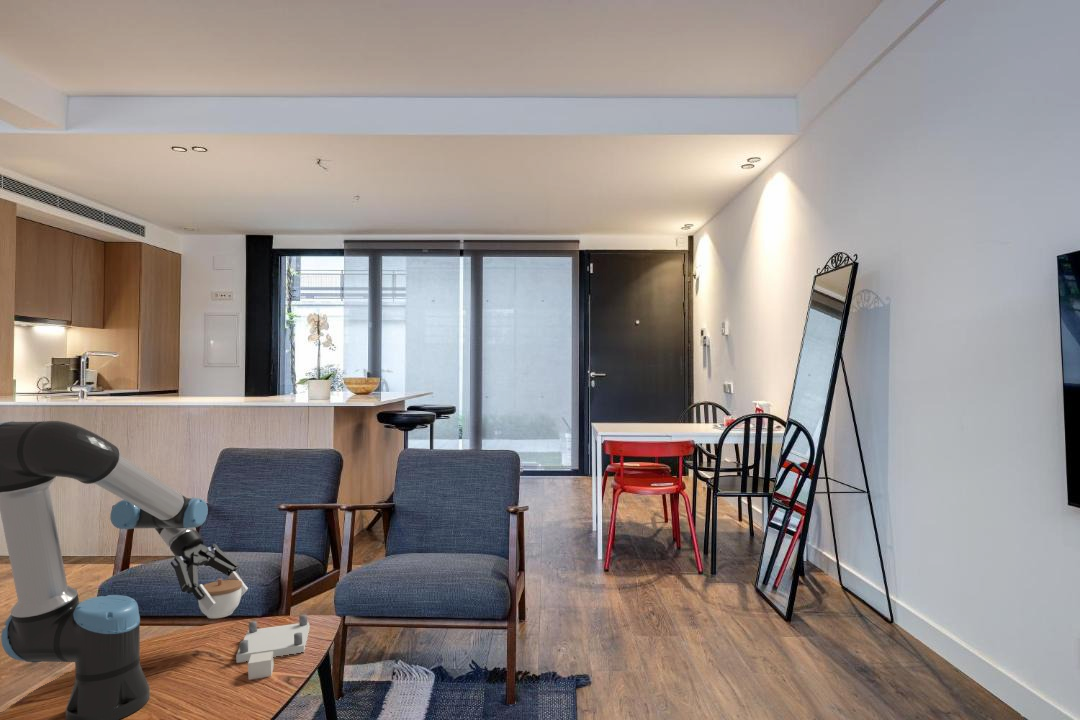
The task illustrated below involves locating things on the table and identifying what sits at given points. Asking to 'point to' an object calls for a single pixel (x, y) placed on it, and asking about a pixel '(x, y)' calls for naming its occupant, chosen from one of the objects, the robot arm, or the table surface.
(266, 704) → the table surface
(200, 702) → the table surface
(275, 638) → the grey stand
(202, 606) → the lidded jar
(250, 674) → the plain off-white block
